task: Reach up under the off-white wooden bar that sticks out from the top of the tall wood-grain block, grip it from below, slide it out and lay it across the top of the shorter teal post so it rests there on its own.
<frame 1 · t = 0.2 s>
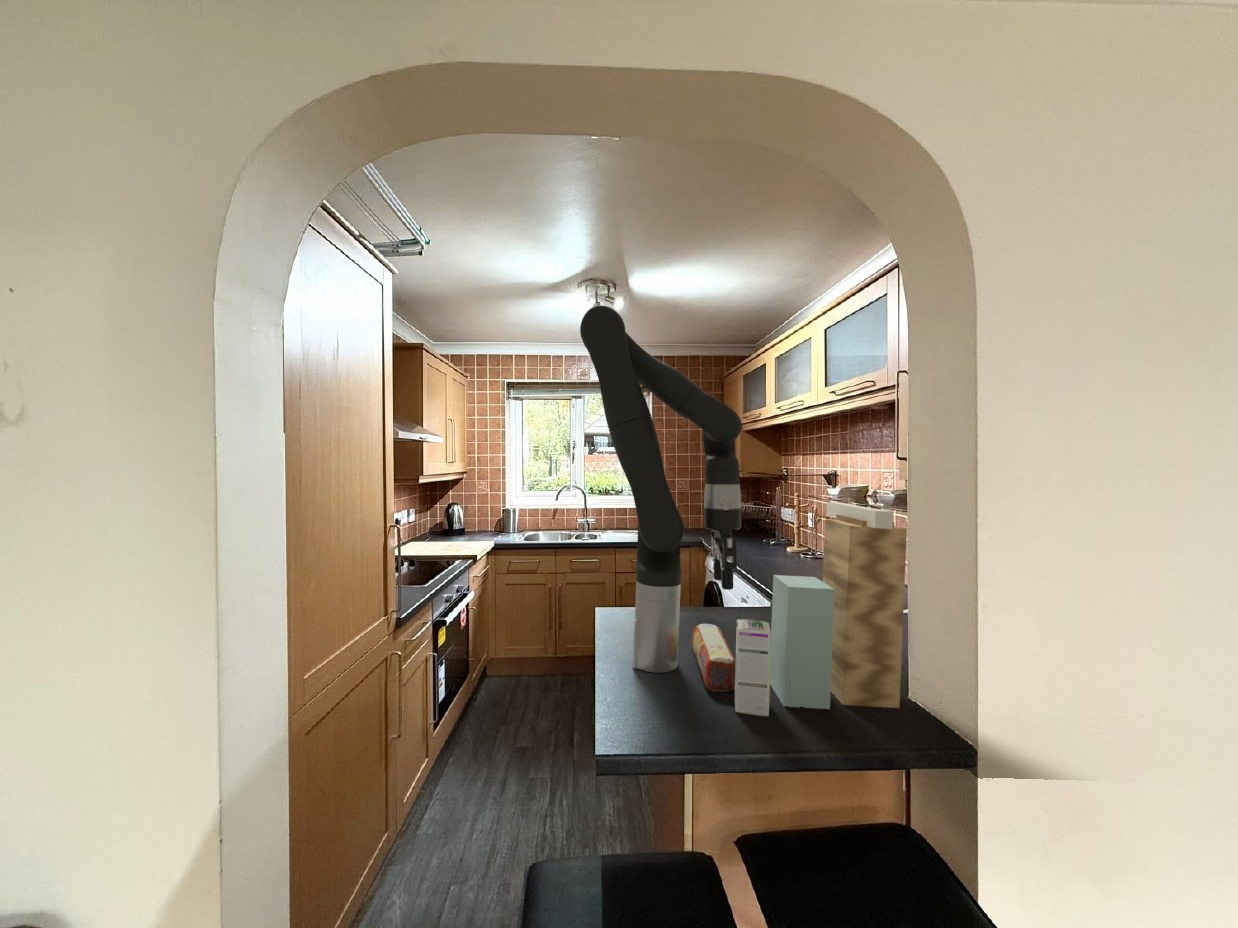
hand: (723, 584, 107), 17 cm above the countertop, tool pointing down, fingers open, 8 cm apart
tall wood-grain block: (856, 691, 98), on the countertop
syrup box: (750, 708, 89), on the countertop
bar: (855, 521, 101), point 32 cm above the countertop, touching tall wood-grain block
snack package: (713, 671, 106), on the countertop
post: (797, 695, 95), on the countertop
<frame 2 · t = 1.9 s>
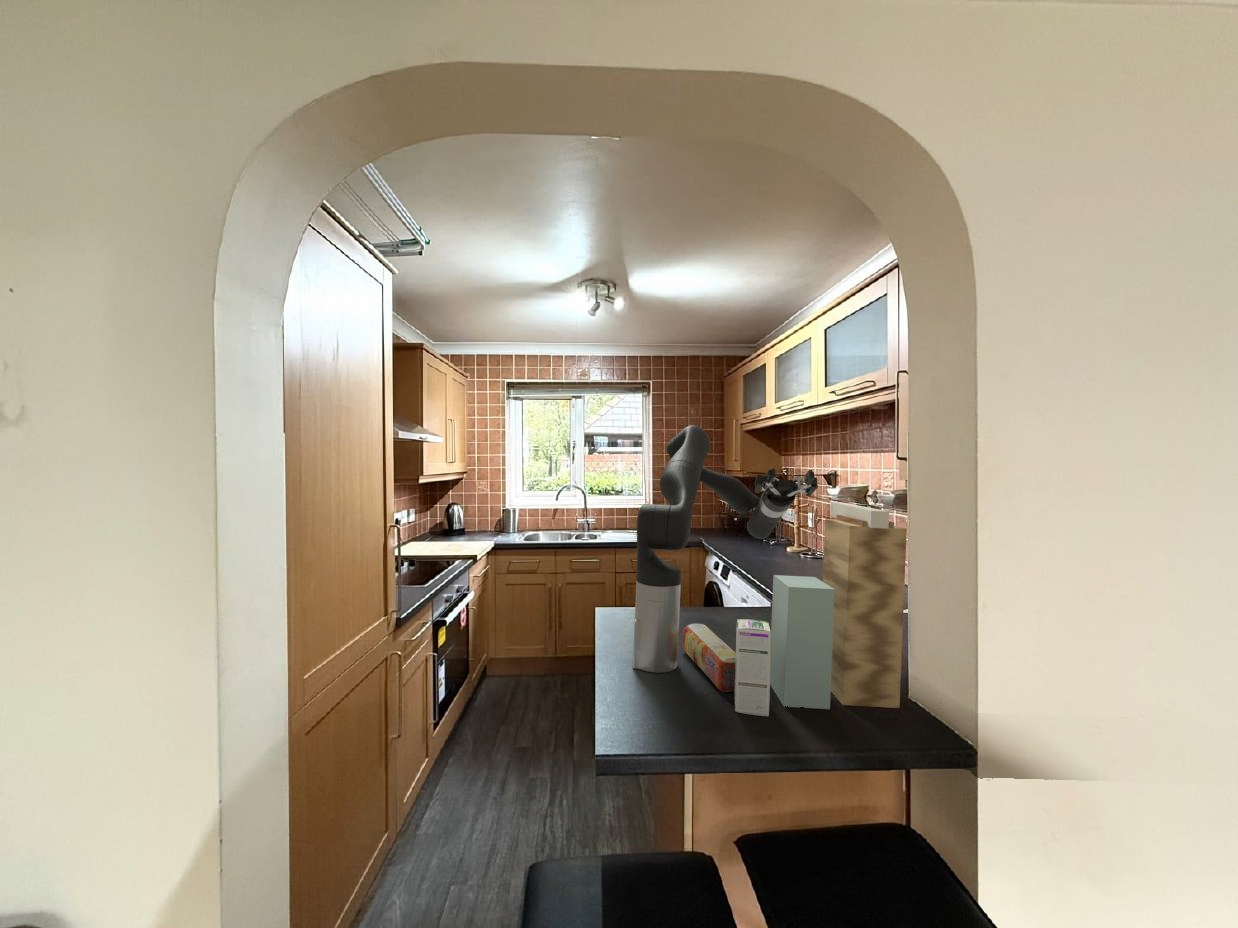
hand: (792, 472, 120), 41 cm above the countertop, tool pointing upward, fingers open, 8 cm apart
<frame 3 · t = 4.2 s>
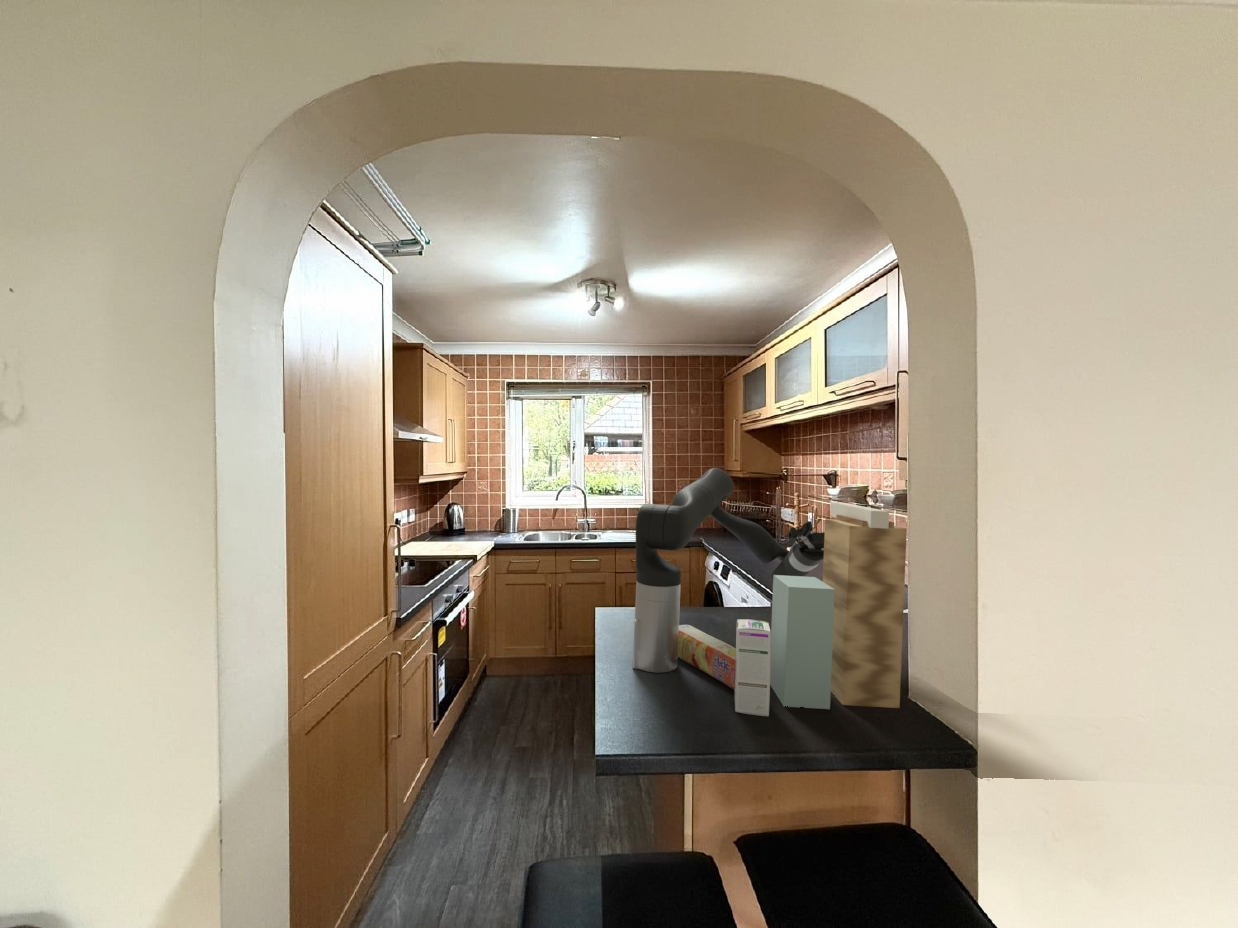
hand: (830, 525, 114), 30 cm above the countertop, tool pointing upward, fingers open, 8 cm apart
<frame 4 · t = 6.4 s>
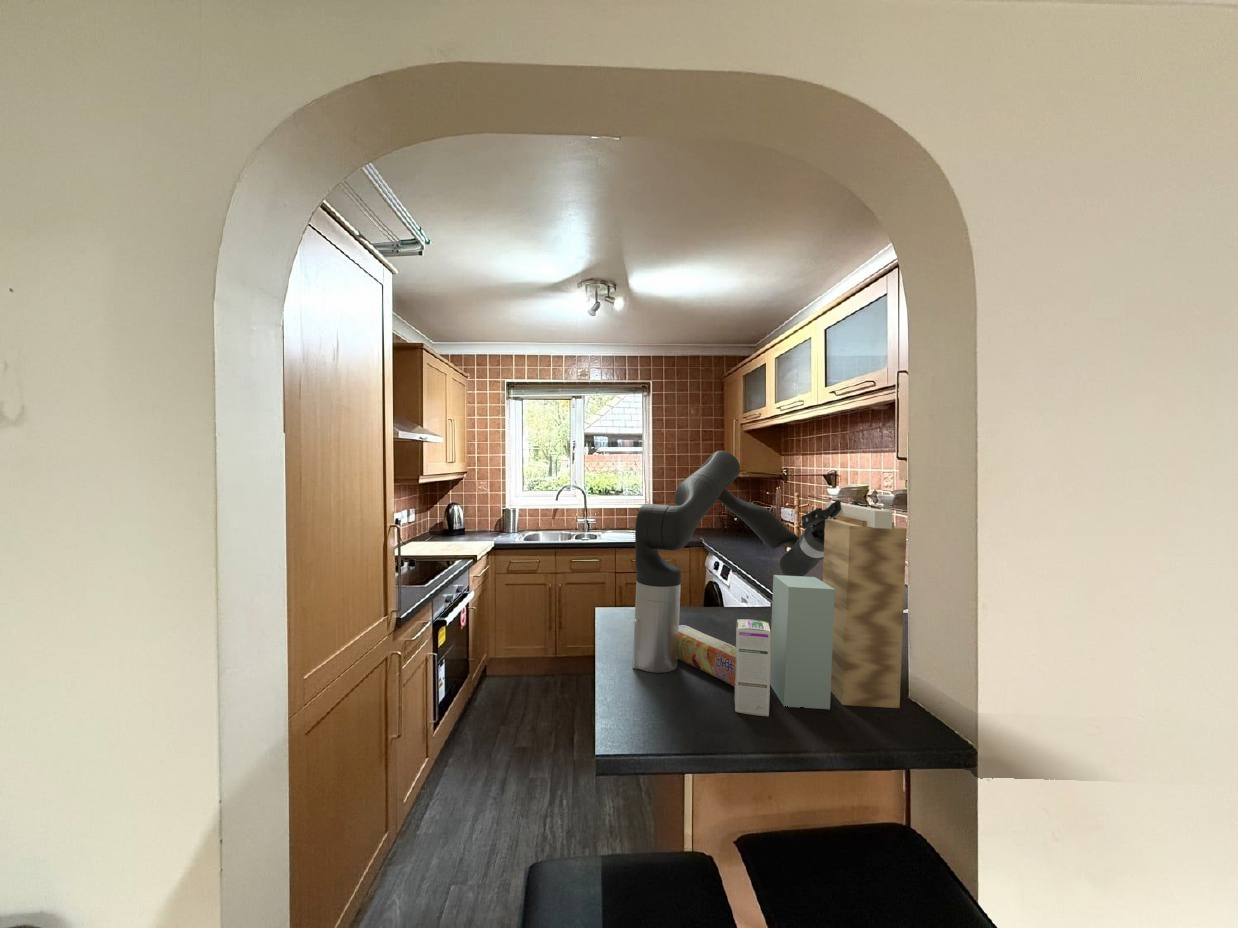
hand: (847, 505, 105), 35 cm above the countertop, tool pointing upward, fingers closed on bar, 3 cm apart
bar: (855, 521, 102), point 32 cm above the countertop, touching gripper, tall wood-grain block
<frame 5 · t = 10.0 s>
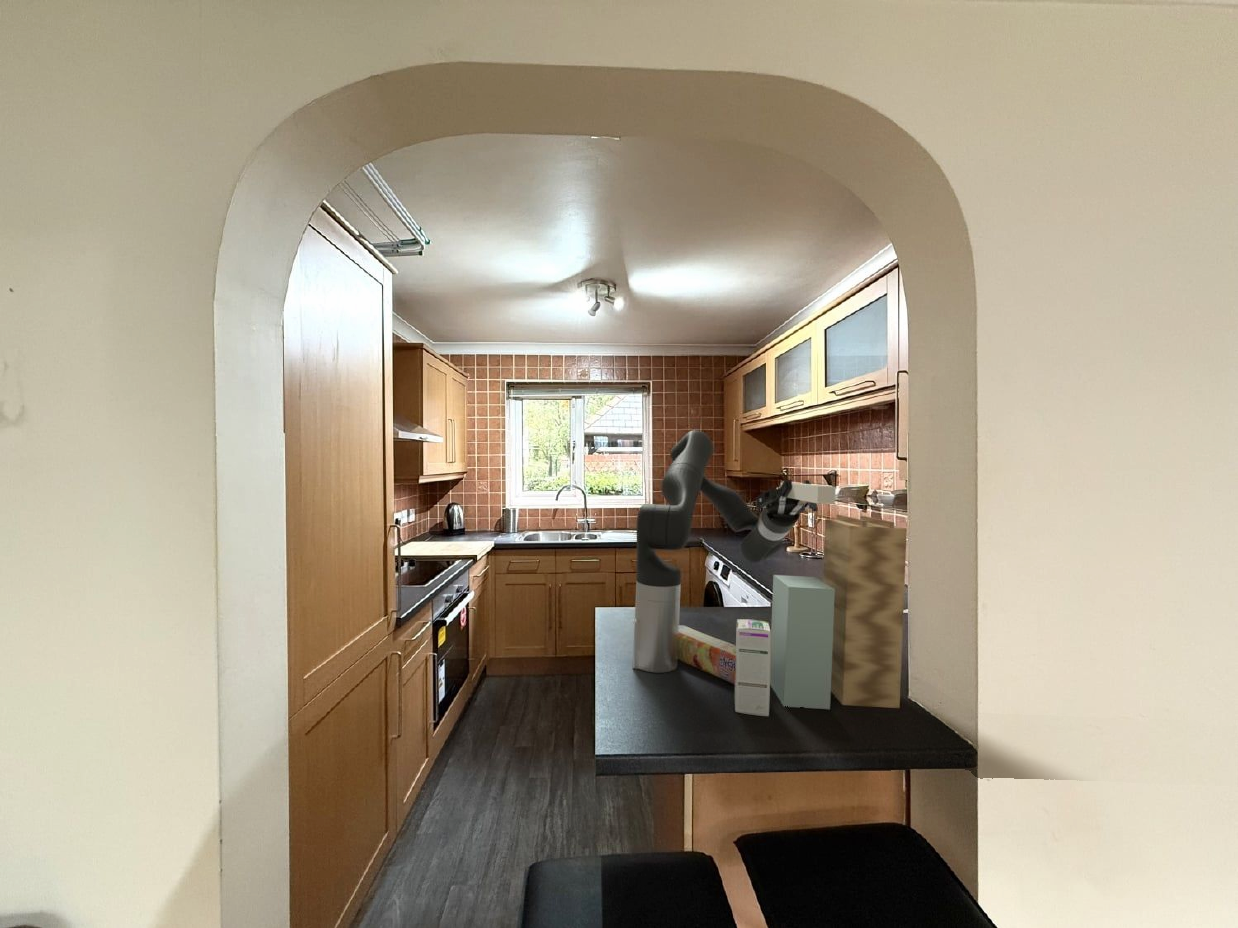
hand: (799, 483, 104), 39 cm above the countertop, tool pointing upward, fingers closed on bar, 3 cm apart
bar: (804, 499, 100), point 36 cm above the countertop, touching gripper
when the fingers open (25 cm above the countertop, at t = 13.2 s): bar drops 1 cm, resting on post.
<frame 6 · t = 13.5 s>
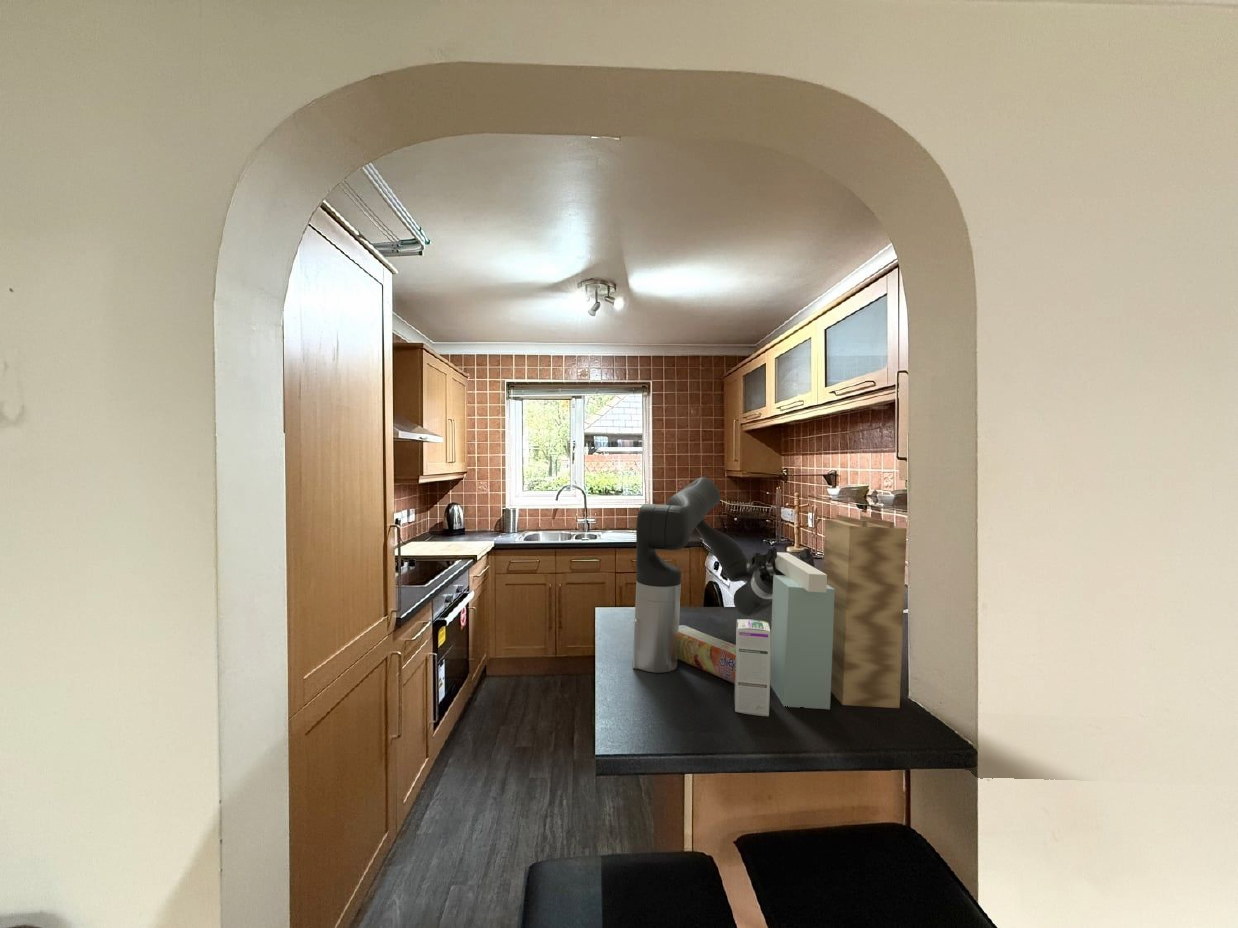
hand: (791, 552, 103), 25 cm above the countertop, tool pointing upward, fingers open, 6 cm apart
bar: (796, 577, 99), point 21 cm above the countertop, touching post
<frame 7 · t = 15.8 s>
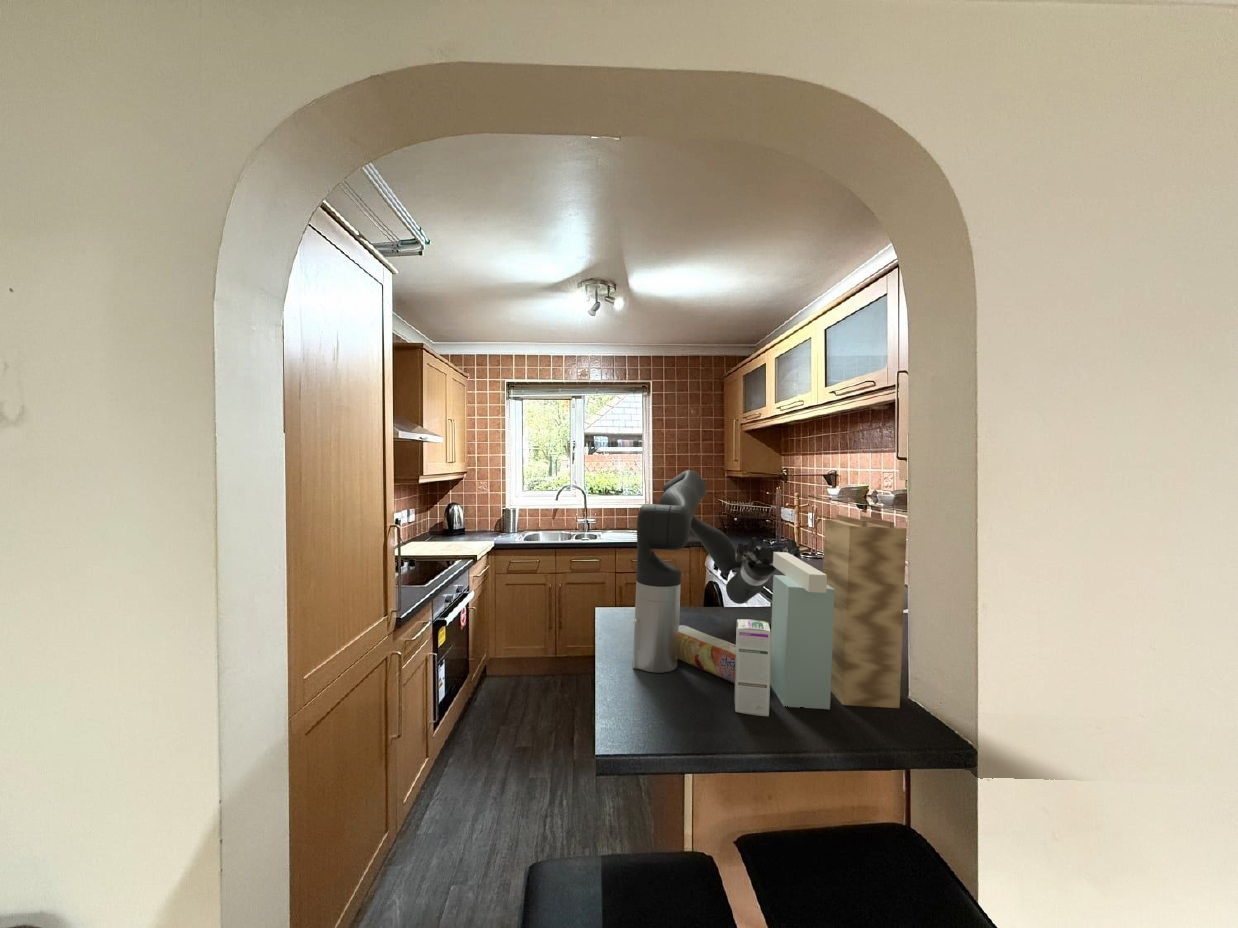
hand: (774, 542, 115), 25 cm above the countertop, tool pointing upward, fingers open, 8 cm apart
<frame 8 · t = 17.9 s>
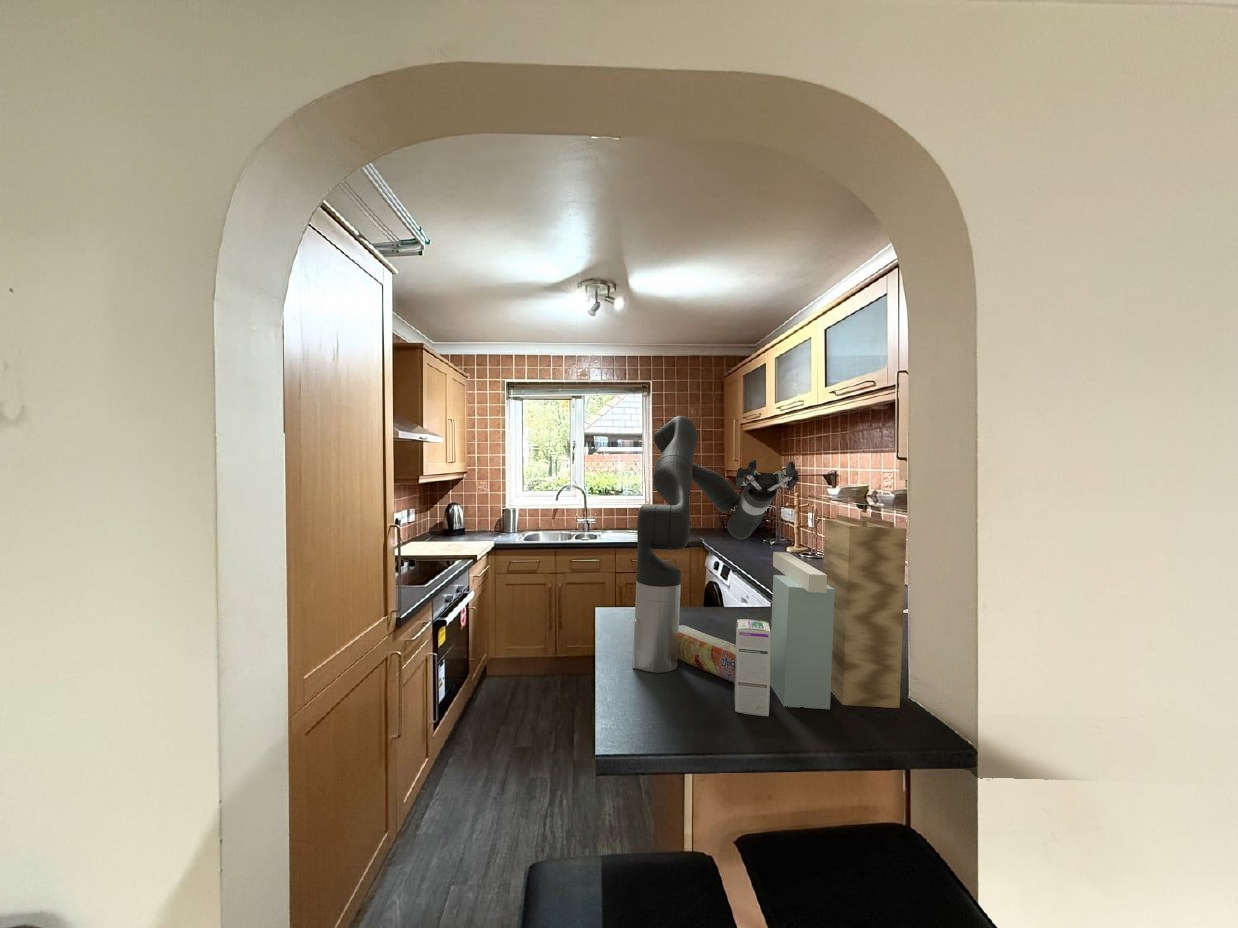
hand: (773, 464, 119), 43 cm above the countertop, tool pointing upward, fingers open, 8 cm apart
at the end: bar inside the target area on the post (0.9 cm from its centre), point 21.0 cm above the post's base; bar tilted 0°; the gripper is holding nothing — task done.
